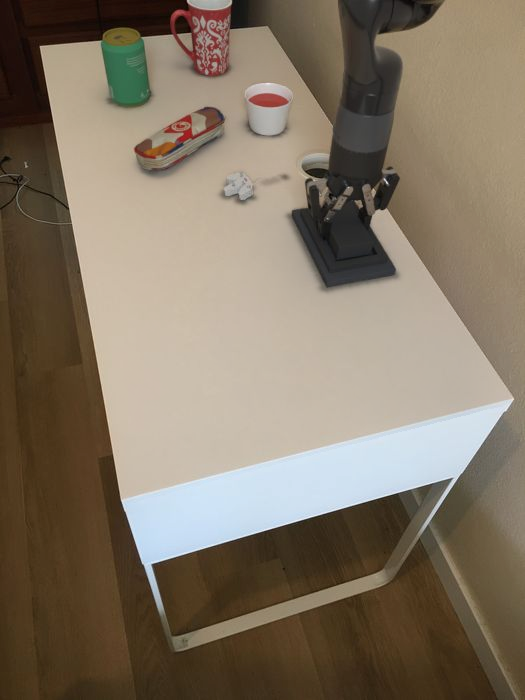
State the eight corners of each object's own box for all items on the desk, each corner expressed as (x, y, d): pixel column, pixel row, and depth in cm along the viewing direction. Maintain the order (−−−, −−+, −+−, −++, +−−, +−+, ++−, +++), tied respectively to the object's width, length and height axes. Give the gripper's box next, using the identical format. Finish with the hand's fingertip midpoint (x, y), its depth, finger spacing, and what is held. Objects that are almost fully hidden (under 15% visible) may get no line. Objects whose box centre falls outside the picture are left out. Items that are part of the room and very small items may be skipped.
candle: (291, 116, 114) (294, 84, 109) (289, 141, 108) (291, 109, 103) (246, 112, 114) (247, 81, 109) (241, 137, 108) (242, 105, 103)
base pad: (394, 274, 87) (397, 264, 85) (326, 287, 85) (328, 277, 83) (353, 205, 97) (355, 195, 95) (291, 215, 95) (292, 204, 93)
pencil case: (121, 153, 104) (117, 127, 100) (210, 119, 112) (209, 95, 108) (154, 183, 99) (150, 157, 95) (244, 146, 107) (244, 121, 103)
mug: (228, 56, 128) (227, -11, 117) (236, 76, 123) (236, 7, 112) (171, 60, 126) (165, -8, 115) (177, 81, 121) (171, 11, 110)
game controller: (215, 190, 98) (215, 177, 96) (262, 163, 103) (263, 150, 101) (239, 205, 96) (239, 192, 94) (285, 177, 101) (286, 164, 99)
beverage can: (131, 84, 119) (122, 22, 110) (159, 97, 116) (152, 35, 107) (102, 98, 115) (90, 36, 106) (129, 112, 112) (120, 49, 103)
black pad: (370, 254, 87) (373, 241, 85) (336, 260, 86) (339, 247, 84) (347, 213, 93) (349, 200, 91) (315, 218, 92) (316, 205, 90)
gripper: (319, 157, 72) (306, 257, 85) (423, 143, 75) (395, 242, 88) (300, 125, 76) (291, 225, 90) (399, 113, 79) (375, 211, 93)
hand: (342, 233), depth 89 cm, fingers closed on black pad, 5 cm apart
